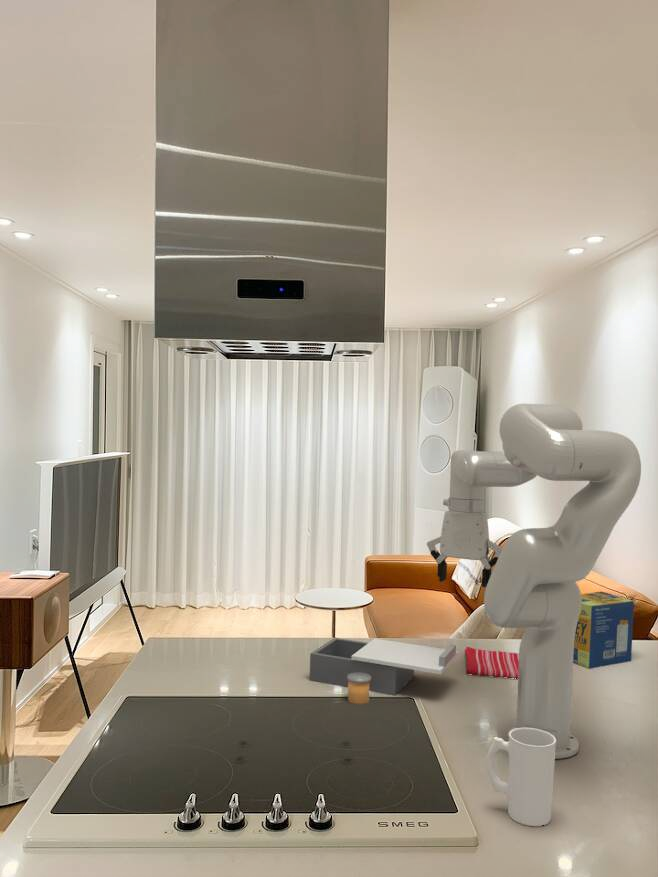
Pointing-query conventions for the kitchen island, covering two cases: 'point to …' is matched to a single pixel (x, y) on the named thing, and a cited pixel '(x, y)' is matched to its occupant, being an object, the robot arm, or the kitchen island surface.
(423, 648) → the lid
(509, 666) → the dish towel
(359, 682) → the jar
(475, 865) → the kitchen island surface
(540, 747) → the mug
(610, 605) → the protein box
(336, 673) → the housing
